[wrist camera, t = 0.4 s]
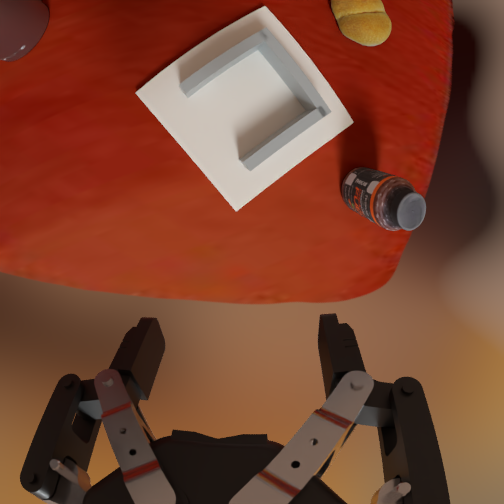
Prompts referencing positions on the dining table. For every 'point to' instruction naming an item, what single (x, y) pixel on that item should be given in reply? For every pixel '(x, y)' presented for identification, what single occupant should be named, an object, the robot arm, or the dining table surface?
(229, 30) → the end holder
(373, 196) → the supplement bottle
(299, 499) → the robot arm
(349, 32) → the bread roll
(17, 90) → the dining table surface
